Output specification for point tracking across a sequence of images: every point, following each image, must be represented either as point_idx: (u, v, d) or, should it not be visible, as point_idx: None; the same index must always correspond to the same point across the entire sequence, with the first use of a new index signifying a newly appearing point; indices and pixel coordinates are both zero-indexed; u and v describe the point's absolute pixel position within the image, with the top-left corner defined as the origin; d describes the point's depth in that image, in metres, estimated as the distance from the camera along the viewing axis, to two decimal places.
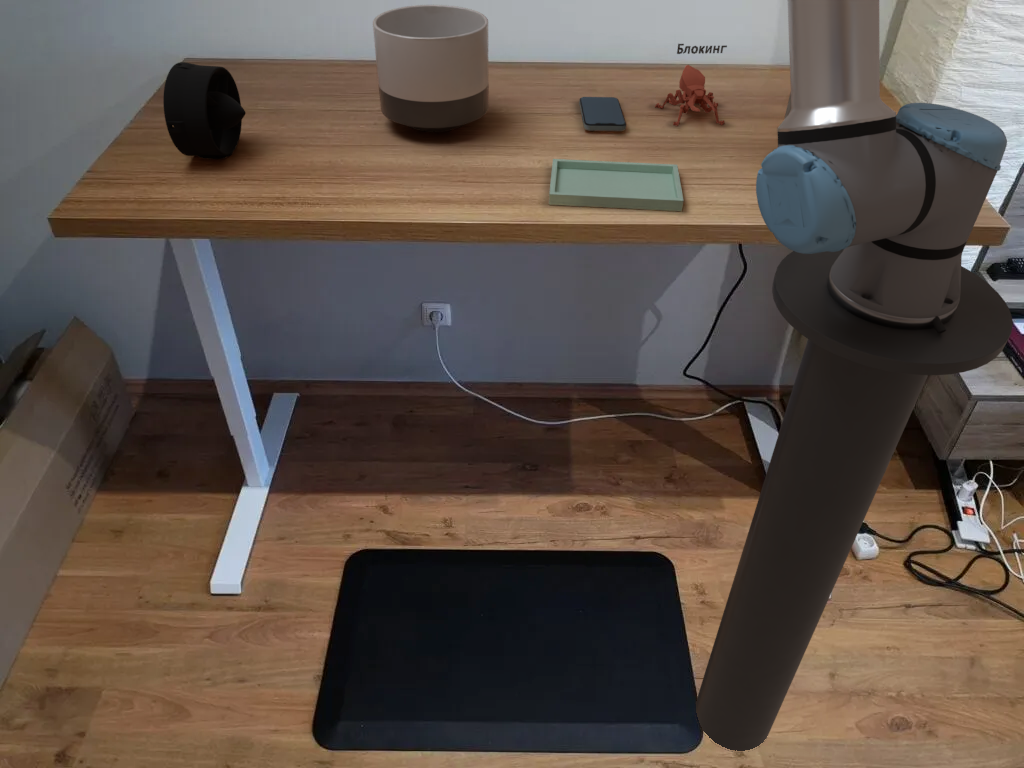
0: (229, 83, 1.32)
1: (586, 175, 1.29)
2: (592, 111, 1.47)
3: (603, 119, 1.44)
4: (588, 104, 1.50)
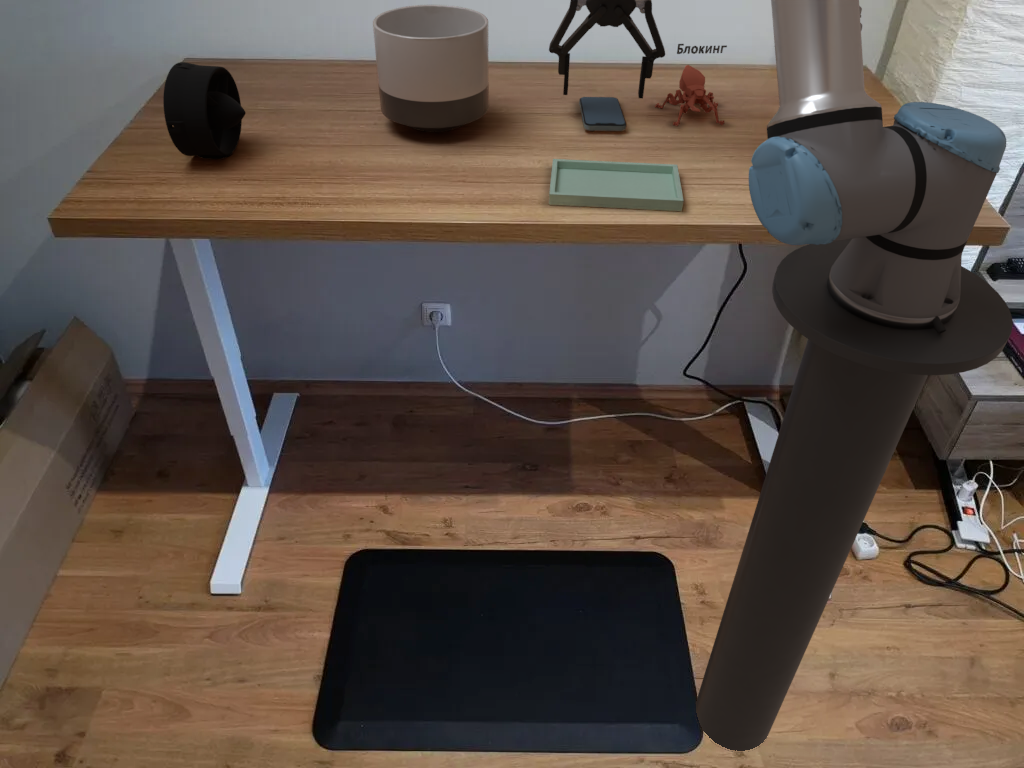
0: (229, 83, 1.32)
1: (586, 175, 1.29)
2: (592, 111, 1.47)
3: (603, 119, 1.44)
4: (588, 104, 1.50)
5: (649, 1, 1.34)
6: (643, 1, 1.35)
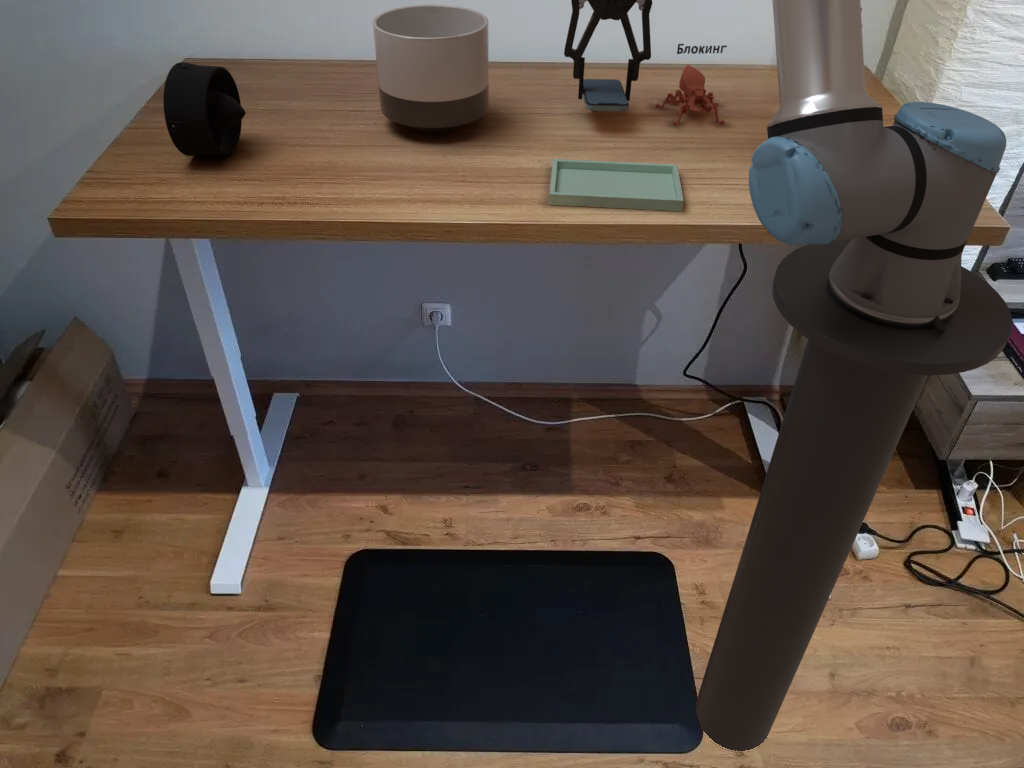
0: (229, 83, 1.32)
1: (586, 175, 1.29)
2: (594, 92, 1.44)
3: (605, 99, 1.41)
4: (590, 86, 1.47)
5: (650, 0, 1.34)
6: None
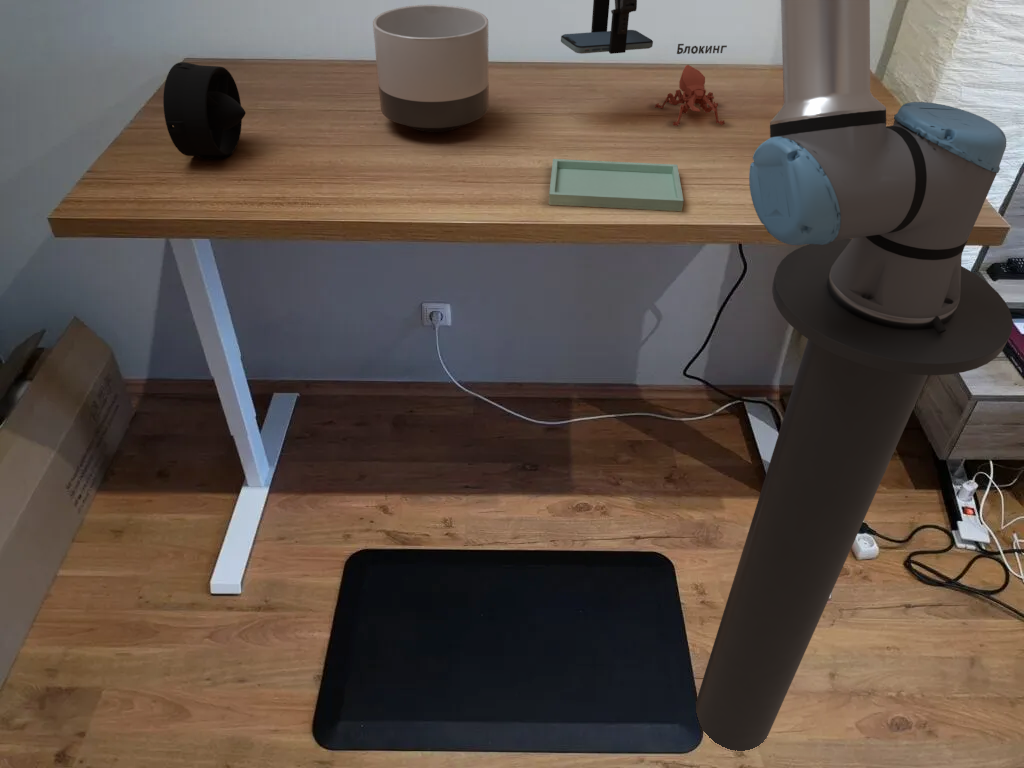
0: (229, 83, 1.32)
1: (586, 175, 1.29)
2: (598, 35, 1.40)
3: (581, 39, 1.38)
4: None
5: None
6: None
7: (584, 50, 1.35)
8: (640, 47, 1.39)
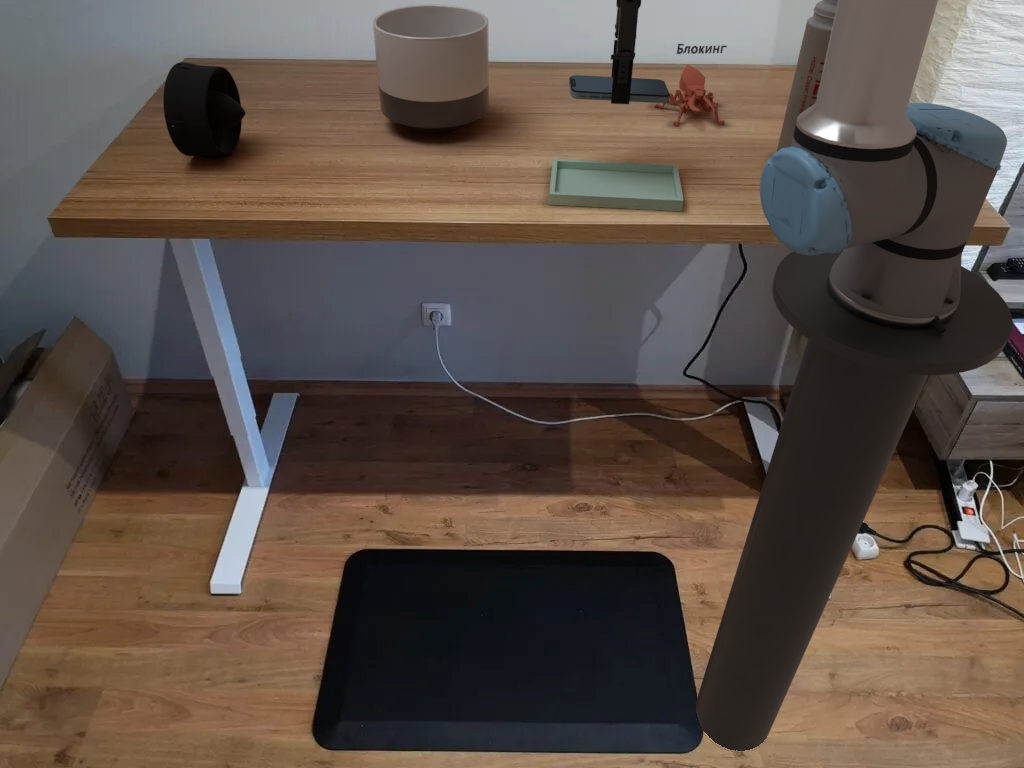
0: (229, 83, 1.32)
1: (586, 175, 1.29)
2: (612, 80, 1.24)
3: (587, 82, 1.23)
4: (634, 80, 1.25)
5: None
6: None
7: (579, 95, 1.20)
8: (651, 100, 1.21)
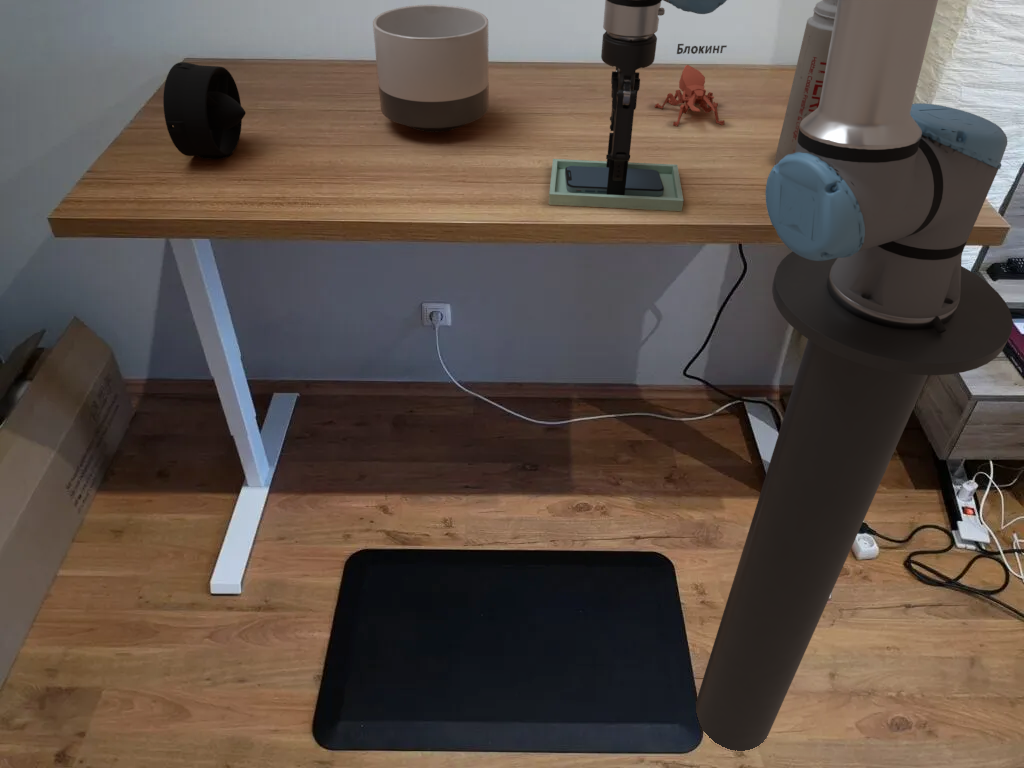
0: (229, 83, 1.32)
1: None
2: (607, 172, 1.26)
3: (582, 175, 1.25)
4: (629, 171, 1.27)
5: (618, 92, 1.10)
6: (624, 89, 1.11)
7: (575, 190, 1.22)
8: (646, 194, 1.23)
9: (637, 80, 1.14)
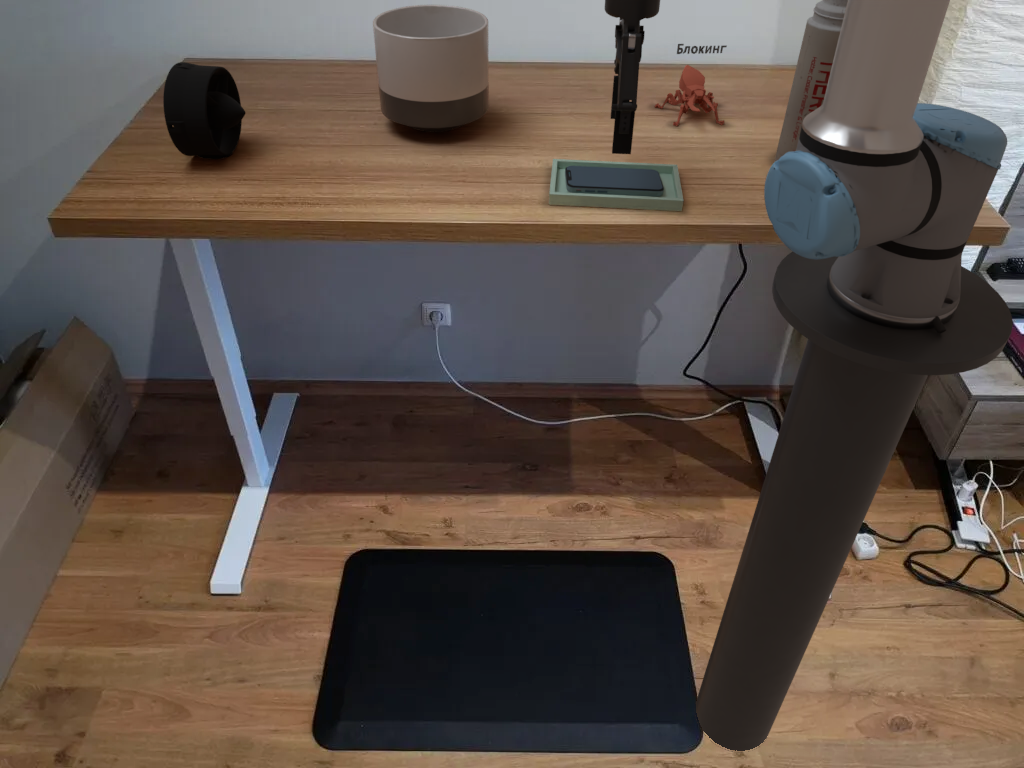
0: (229, 83, 1.32)
1: None
2: (607, 172, 1.26)
3: (582, 175, 1.25)
4: (629, 171, 1.27)
5: None
6: None
7: (575, 190, 1.23)
8: (646, 194, 1.23)
9: (641, 31, 1.11)
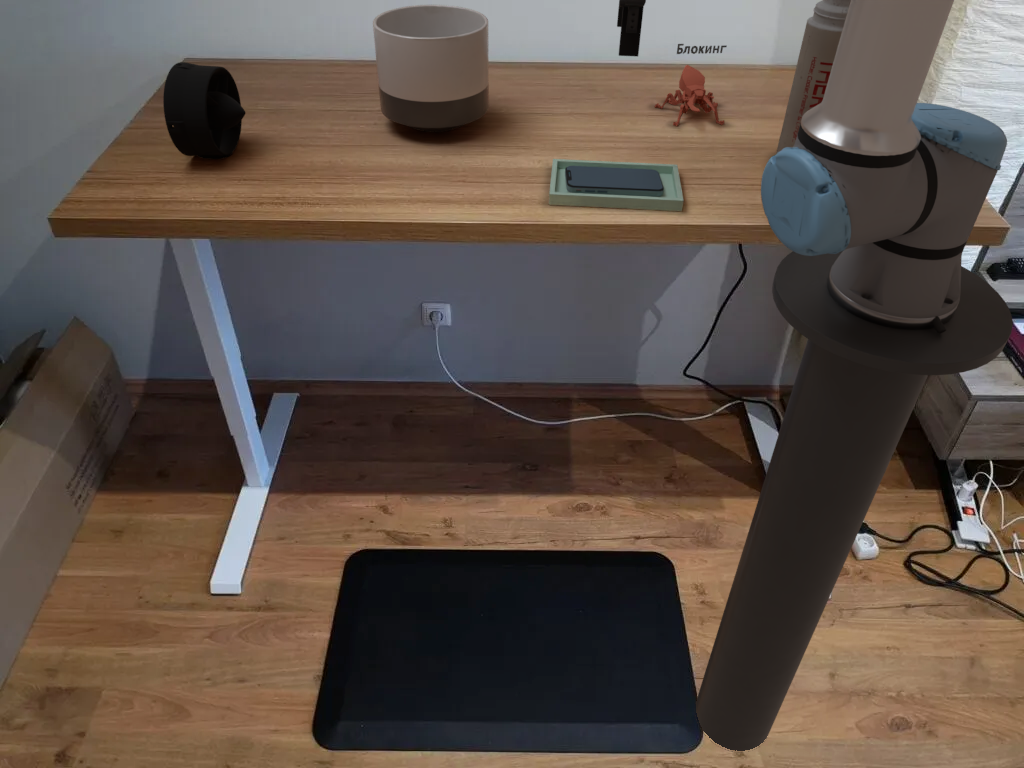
0: (229, 83, 1.32)
1: None
2: (607, 172, 1.26)
3: (582, 175, 1.25)
4: (629, 171, 1.27)
5: None
6: None
7: (575, 190, 1.23)
8: (646, 194, 1.23)
9: None
